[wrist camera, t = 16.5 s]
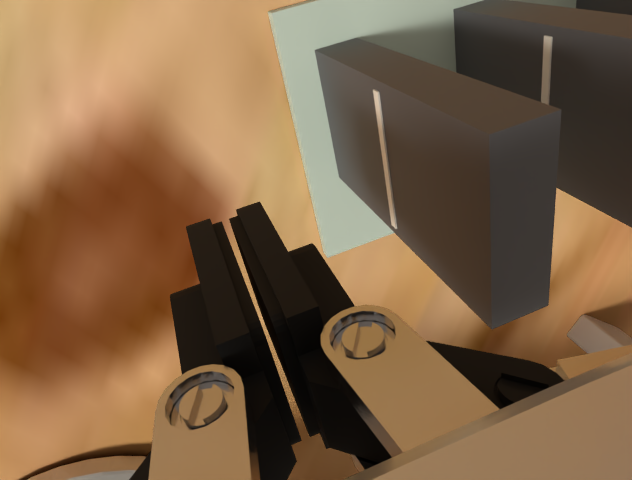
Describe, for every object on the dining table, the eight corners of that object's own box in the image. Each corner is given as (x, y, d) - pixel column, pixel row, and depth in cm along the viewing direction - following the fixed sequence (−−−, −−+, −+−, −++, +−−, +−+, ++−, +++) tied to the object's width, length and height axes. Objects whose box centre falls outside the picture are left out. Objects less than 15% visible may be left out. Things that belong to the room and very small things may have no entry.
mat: (788, 79, 27) (799, 81, 27) (323, 252, 22) (327, 257, 22) (859, -151, 22) (874, -153, 21) (267, 11, 17) (271, 12, 17)
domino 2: (492, -3, 19) (782, 32, 11) (493, 124, 22) (726, 229, 13) (452, 9, 19) (719, 54, 10) (458, 136, 21) (674, 251, 13)
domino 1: (357, 37, 18) (563, 108, 10) (376, 164, 21) (550, 304, 12) (313, 50, 18) (486, 135, 9) (338, 177, 20) (490, 330, 12)
